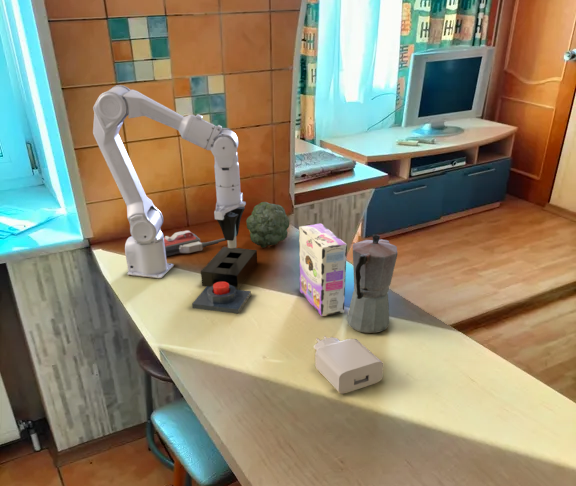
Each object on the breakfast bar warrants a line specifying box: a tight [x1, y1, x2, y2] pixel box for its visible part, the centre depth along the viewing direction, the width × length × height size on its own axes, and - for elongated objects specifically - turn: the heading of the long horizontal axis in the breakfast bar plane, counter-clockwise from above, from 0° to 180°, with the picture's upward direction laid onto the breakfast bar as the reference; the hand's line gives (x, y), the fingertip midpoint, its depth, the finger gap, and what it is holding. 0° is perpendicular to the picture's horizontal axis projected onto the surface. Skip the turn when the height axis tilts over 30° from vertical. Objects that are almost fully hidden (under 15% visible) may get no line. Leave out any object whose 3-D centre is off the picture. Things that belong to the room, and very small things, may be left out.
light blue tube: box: [226, 213, 238, 248], centre depth 145 cm, size 2×2×9 cm
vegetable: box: [245, 201, 290, 249], centre depth 164 cm, size 12×13×15 cm
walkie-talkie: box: [164, 229, 227, 257], centre depth 162 cm, size 9×4×20 cm
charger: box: [312, 335, 384, 394], centre depth 111 cm, size 5×9×15 cm
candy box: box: [298, 223, 348, 317], centre depth 131 cm, size 14×6×16 cm, turn 20°
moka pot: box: [346, 234, 398, 334], centre depth 121 cm, size 10×15×20 cm, turn 155°
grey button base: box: [191, 285, 252, 314], centre depth 135 cm, size 11×9×3 cm
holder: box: [200, 246, 258, 290], centre depth 147 cm, size 9×15×4 cm, turn 165°
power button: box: [213, 282, 229, 295], centre depth 134 cm, size 4×4×2 cm
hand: (231, 237), depth 146 cm, fingers closed on light blue tube, 2 cm apart
